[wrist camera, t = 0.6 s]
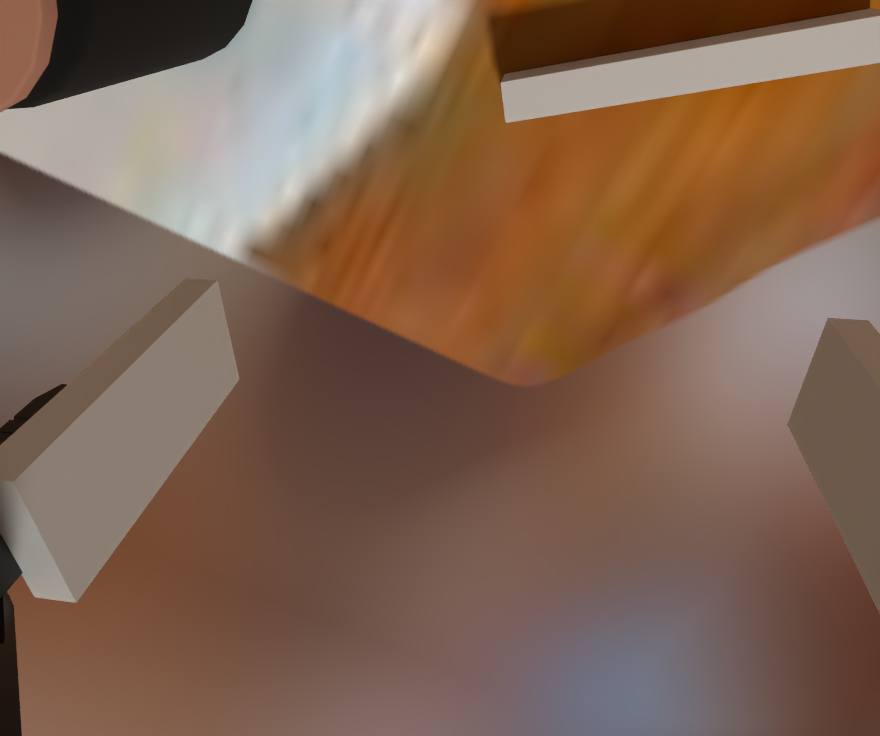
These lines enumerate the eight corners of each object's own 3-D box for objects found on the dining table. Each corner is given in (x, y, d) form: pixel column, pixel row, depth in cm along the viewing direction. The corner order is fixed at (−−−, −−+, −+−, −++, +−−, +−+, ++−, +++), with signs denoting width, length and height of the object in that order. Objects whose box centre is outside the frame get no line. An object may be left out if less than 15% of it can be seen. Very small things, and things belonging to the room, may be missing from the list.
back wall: (504, 73, 35) (500, 82, 32) (870, 8, 31) (898, 12, 28) (508, 111, 36) (505, 122, 33) (863, 53, 32) (889, 61, 29)
